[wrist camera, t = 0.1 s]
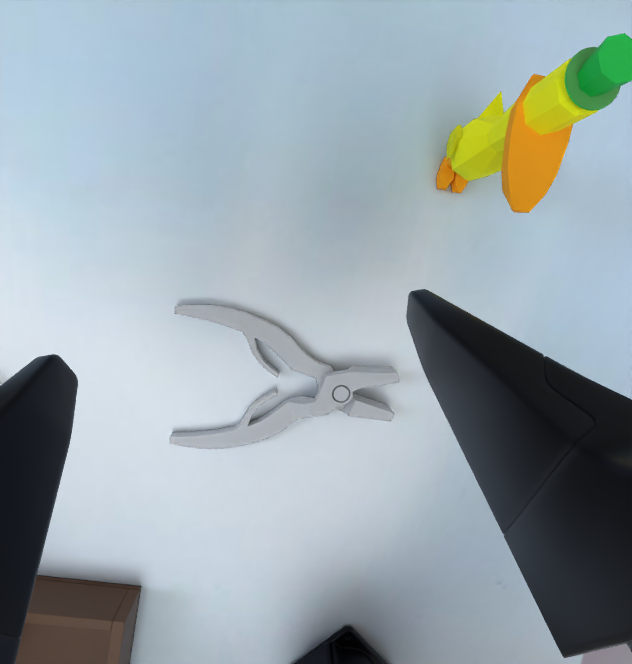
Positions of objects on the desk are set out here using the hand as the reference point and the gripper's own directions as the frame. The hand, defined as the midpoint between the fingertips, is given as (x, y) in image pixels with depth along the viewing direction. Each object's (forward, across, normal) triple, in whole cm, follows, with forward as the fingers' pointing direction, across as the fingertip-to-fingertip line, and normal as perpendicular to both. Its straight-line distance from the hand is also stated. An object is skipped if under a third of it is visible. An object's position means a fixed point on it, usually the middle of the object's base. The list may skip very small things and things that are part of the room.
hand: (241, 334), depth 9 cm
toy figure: (+16, -13, +4) cm, 21 cm away
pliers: (+9, 0, +13) cm, 16 cm away
